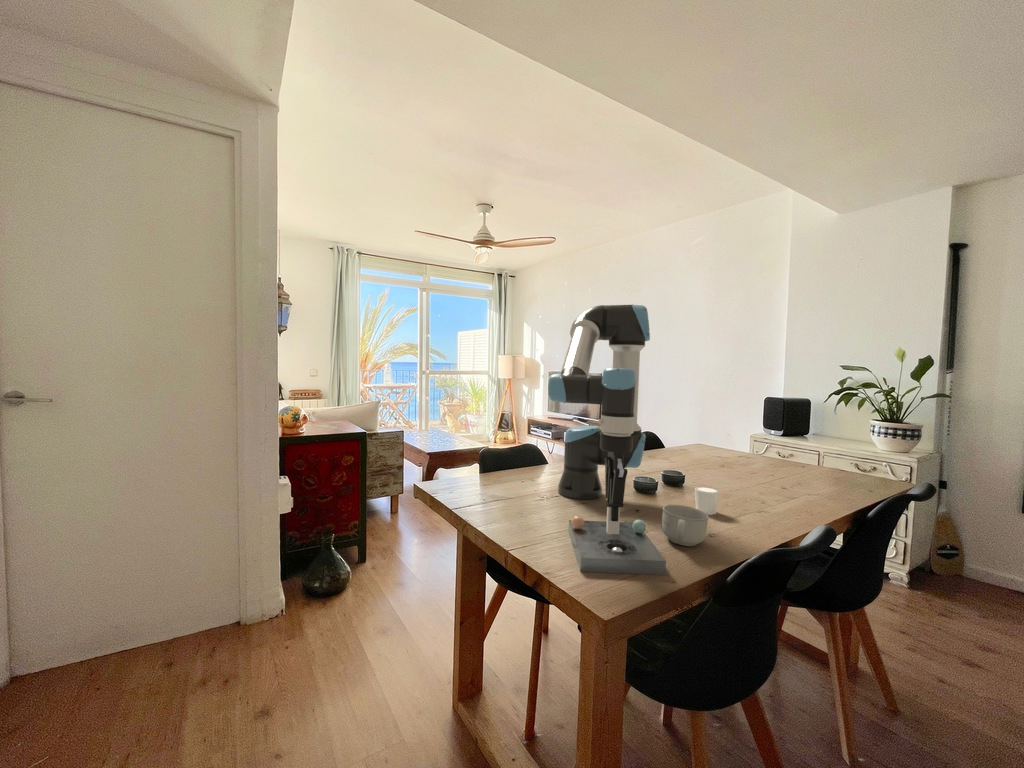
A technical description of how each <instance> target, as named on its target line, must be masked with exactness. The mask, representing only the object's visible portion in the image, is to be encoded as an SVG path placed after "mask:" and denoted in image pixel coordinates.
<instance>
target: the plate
mask: <svg viewBox="0 0 1024 768" xmlns="http://www.w3.org/2000/svg"><path fill="white" fill-rule="evenodd" d="M571 521H572V519H568V534H569V538H570V542H571V543H572V544H571V545H572V548H573V552H574V555H575V558H576V561H577V564H578V565H577V566H578V569H579V572H582V573H608V574H609V573H610V574H611V573H612V574H635V575H637V574H638V575H660V576H661V575H662V576H666V571H667V570H666V568H667V560H666V559H665V558H664V556H663V554H661V552H660V551H659V550H658V548H657V547H656V546H655V545H654V543H653V541H651V539H650V537H649V536H648V535H647V534H646V532H645V531H644V532H643V533H636V532H635V531H634V530H633V527H632V525H633V522H634V521H633V522H632V521H631V522H629V521H620V522H619V534H607V532H606V524H607V520H605V521H603V520H602V521H601V520H600V521H599V520H584V526H583V528H581V529H575V528H574V527H573V526H572V523H571ZM614 547H619V548H621V549H622V550H623V552H618V551H613V550H611V549H612V548H614Z"/></svg>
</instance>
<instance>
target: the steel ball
mask: <svg viewBox="0 0 1024 768" xmlns="http://www.w3.org/2000/svg"><path fill="white" fill-rule="evenodd" d="M611 550H613V551H618V552H623V550H622V549H621V548H619V547H614V548H612V549H611Z"/></svg>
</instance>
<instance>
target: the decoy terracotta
mask: <svg viewBox="0 0 1024 768" xmlns="http://www.w3.org/2000/svg"><path fill="white" fill-rule="evenodd" d="M571 520H572V521H571V523H572V526H573V527H574V528H575V529H581V528H583V526H584V521H585V520H584V517H582V516H580V515H575V516H573V518H572V519H571Z"/></svg>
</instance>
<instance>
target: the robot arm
mask: <svg viewBox="0 0 1024 768" xmlns="http://www.w3.org/2000/svg"><path fill="white" fill-rule="evenodd" d="M569 335H570V341H569V343H568V344H569V345H568V348H567V351H566V354H565V356H564V357H565V358H564V361H563V364H562V368H561V371H560V373H554V374H550V376H549V379H548V386H547V390H548V391H547V392H548V398H549V400H550V401H551V402H556V403H563V404H585V405H586V404H587V405H601V412H600V413H601V414H600V415H601V416H600V417H601V418H599V419H598V420H597V421H598V423H599V424H600V426H598V425H581V426H580V425H579V426H573V427H570V428H568V429H567V430H566V431H565V435H564V436H565V437H564V441H563V442H564V454H563V455H564V457H563V459H564V460H563V471H562V474H561V477H560V479H559V482H558V484H557V492H558V494H559V495H561V496H563V497H567V498H571V499H575V500H576V499H577V500H594V499H598V498H601V497H603V487H602V483H601V479H600V476H599V472H598V470H599V466H604V468H605V469H604V470H605V471H604V472H605V475H604V476H605V477H604V479H605V482H604V483H605V488H604V489H605V490H604V491H605V499H606V504H605V506H606V521H607V524H606V532H607V534H619V522H621V521H620V517H621V516H620V515H621V508H623V507H624V498H625V489H626V483H627V482H626V480H627V476H628V469H629V468H630V469H636V468H639V467H640V466H641V463H642V461H643V455H644V450H645V443H646V437H647V435H646V434H645V433H642V427H641V426H640V425H639V424H638V409H639V408H638V405H639V404H638V403H639V386H640V384H639V381H640V380H639V379H640V357H641V354H640V353H641V351H642V350H643V349H644V348H645V346H646V342H649V341H650V340H651V334H650V322H649V312H648V308H647V307H646V306H645V305H642V304H615V305H614V304H612V305H611V304H610V305H608V304H607V305H594V306H593V307H590V308H588V309H586V310H585V311H583V312H581V313H580V314H579V315H578V316H577V317H576V318H575V320H573V323H572V324H571V328H570V331H569ZM598 341H608V346H609V348H610V349H611V350H612V367H607V368H604V369H603V371H602V375H591V374H589V373H590V369H591V363H592V359H593V353H594V349H595V345H596V343H597V342H598Z"/></svg>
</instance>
